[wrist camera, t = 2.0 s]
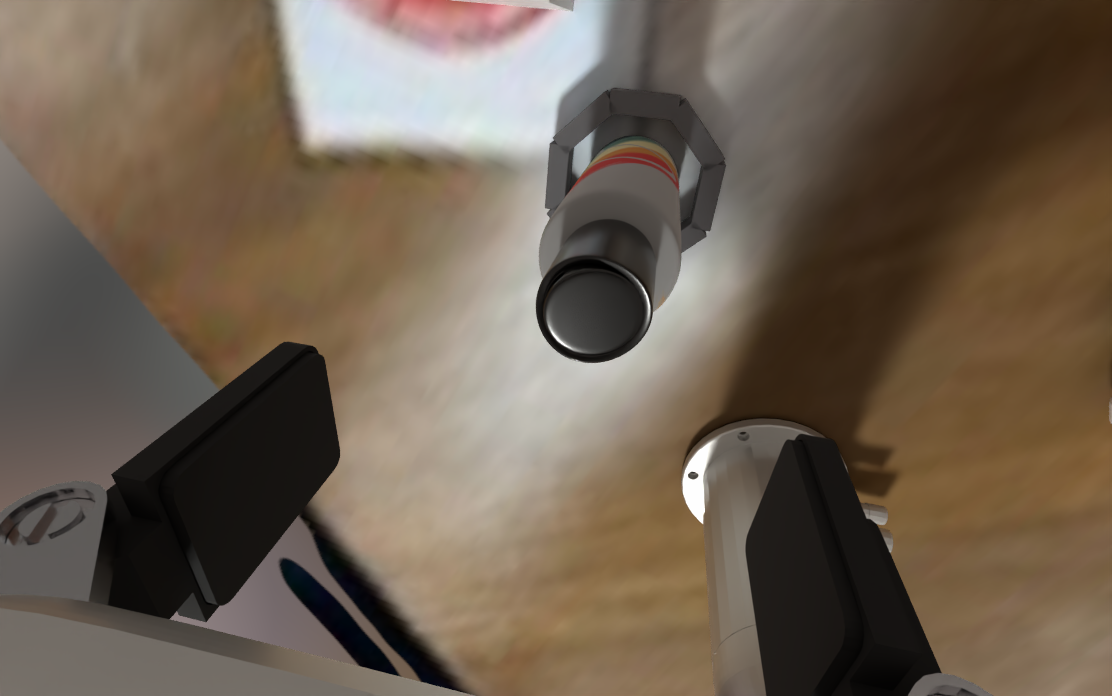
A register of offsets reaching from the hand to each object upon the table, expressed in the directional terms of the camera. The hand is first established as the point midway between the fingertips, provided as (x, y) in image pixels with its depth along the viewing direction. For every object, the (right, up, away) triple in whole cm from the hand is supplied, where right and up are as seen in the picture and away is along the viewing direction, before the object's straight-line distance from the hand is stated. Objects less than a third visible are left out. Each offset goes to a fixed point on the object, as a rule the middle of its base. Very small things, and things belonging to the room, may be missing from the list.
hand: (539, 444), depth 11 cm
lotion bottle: (+5, +13, +23) cm, 27 cm away
